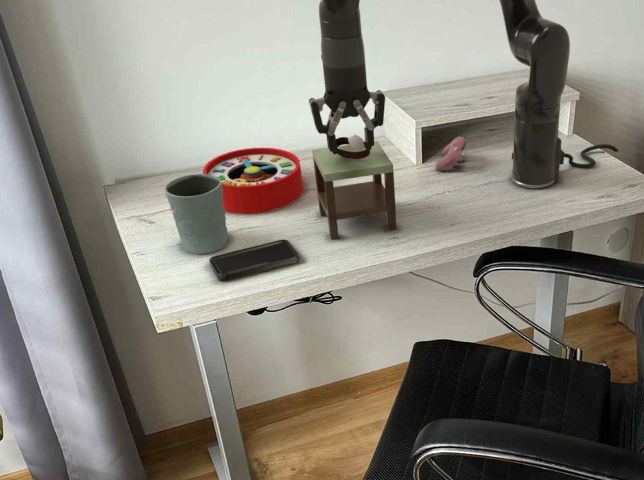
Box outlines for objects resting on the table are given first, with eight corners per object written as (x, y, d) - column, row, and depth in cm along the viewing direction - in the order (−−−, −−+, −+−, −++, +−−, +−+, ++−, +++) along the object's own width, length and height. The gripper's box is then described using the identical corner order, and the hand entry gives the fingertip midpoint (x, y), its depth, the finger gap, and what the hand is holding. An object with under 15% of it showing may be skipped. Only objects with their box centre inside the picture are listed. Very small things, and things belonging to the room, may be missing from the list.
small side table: (381, 203, 168) (377, 141, 160) (396, 229, 159) (393, 164, 151) (319, 212, 165) (312, 149, 157) (331, 240, 156) (324, 174, 148)
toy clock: (216, 195, 159) (192, 158, 173) (221, 221, 162) (198, 183, 177) (313, 174, 166) (283, 141, 181) (316, 200, 170) (286, 165, 184)
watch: (376, 154, 154) (374, 135, 152) (361, 163, 151) (360, 144, 149) (343, 146, 157) (341, 128, 155) (328, 155, 154) (326, 136, 152)
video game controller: (451, 179, 181) (465, 153, 177) (433, 169, 180) (446, 143, 176) (459, 161, 189) (473, 136, 184) (442, 152, 188) (455, 126, 184)
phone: (207, 257, 149) (286, 238, 154) (208, 263, 149) (287, 243, 155) (219, 277, 143) (300, 256, 148) (220, 282, 144) (301, 261, 149)
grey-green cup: (182, 260, 150) (168, 200, 143) (174, 236, 158) (160, 178, 151) (237, 248, 154) (226, 190, 146) (227, 225, 161) (215, 169, 154)
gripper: (307, 70, 139) (317, 163, 149) (388, 61, 142) (393, 152, 152) (299, 58, 145) (310, 148, 155) (378, 49, 148) (383, 138, 158)
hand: (351, 150), depth 153 cm, fingers closed on watch, 6 cm apart
